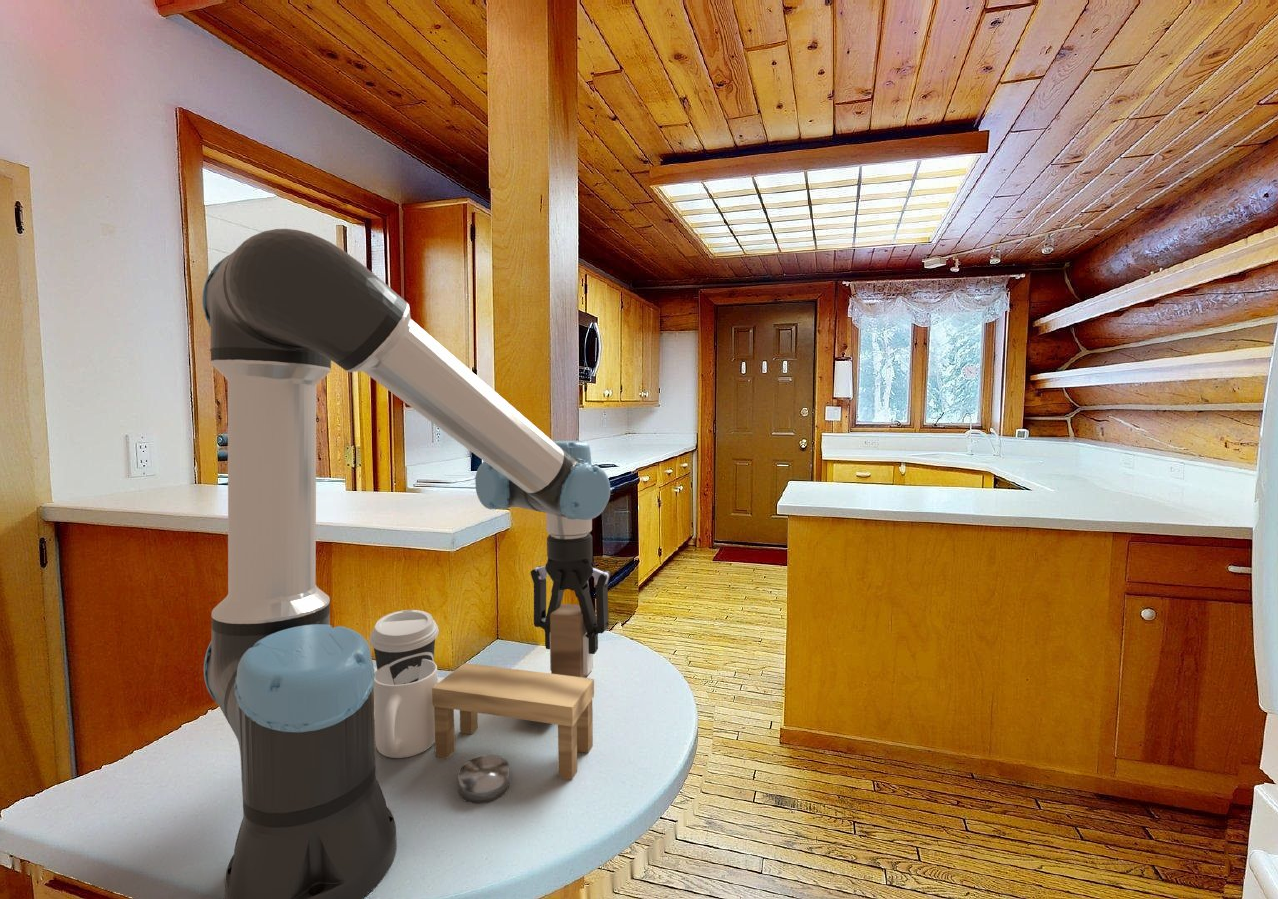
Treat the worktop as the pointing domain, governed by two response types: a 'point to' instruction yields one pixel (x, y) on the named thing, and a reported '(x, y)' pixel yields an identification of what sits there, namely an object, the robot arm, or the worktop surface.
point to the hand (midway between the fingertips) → (571, 669)
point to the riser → (516, 706)
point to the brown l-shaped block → (567, 641)
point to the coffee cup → (404, 643)
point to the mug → (404, 712)
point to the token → (483, 779)
